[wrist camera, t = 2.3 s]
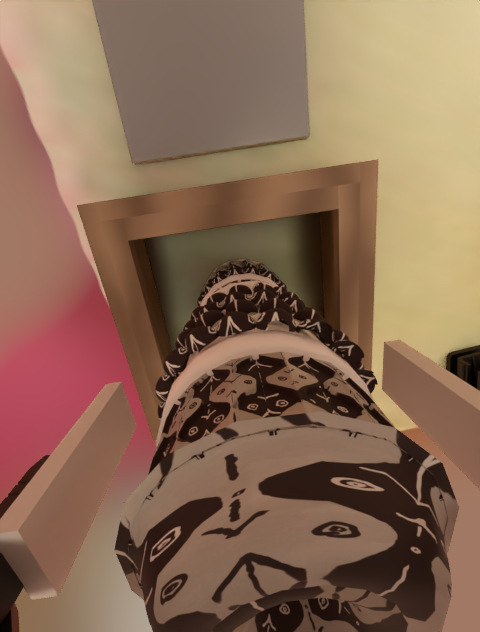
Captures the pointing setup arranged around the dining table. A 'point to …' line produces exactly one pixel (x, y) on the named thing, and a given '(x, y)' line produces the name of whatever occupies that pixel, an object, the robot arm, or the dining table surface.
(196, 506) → the decorative candle
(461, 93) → the dining table surface
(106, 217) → the brown wooden open box
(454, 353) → the end cap
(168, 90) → the slate tile
